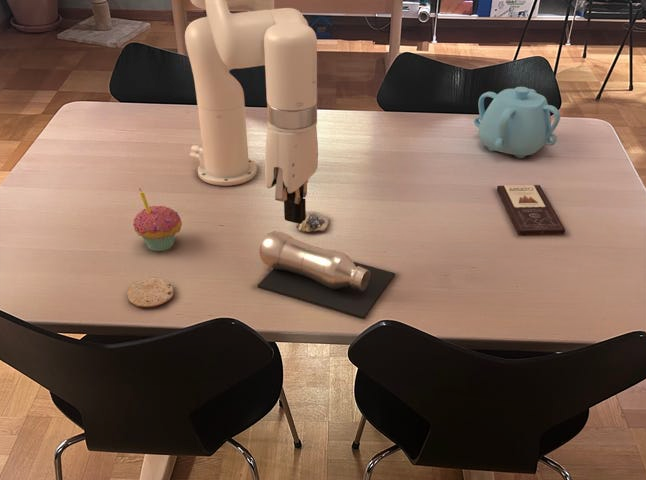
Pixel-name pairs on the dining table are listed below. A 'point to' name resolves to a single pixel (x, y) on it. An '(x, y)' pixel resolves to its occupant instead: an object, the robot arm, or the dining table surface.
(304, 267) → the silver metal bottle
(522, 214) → the chocolate bar
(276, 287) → the mat
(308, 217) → the mineral rock
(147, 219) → the cupcake
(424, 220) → the dining table surface
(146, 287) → the flatbread
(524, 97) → the decorative pot
